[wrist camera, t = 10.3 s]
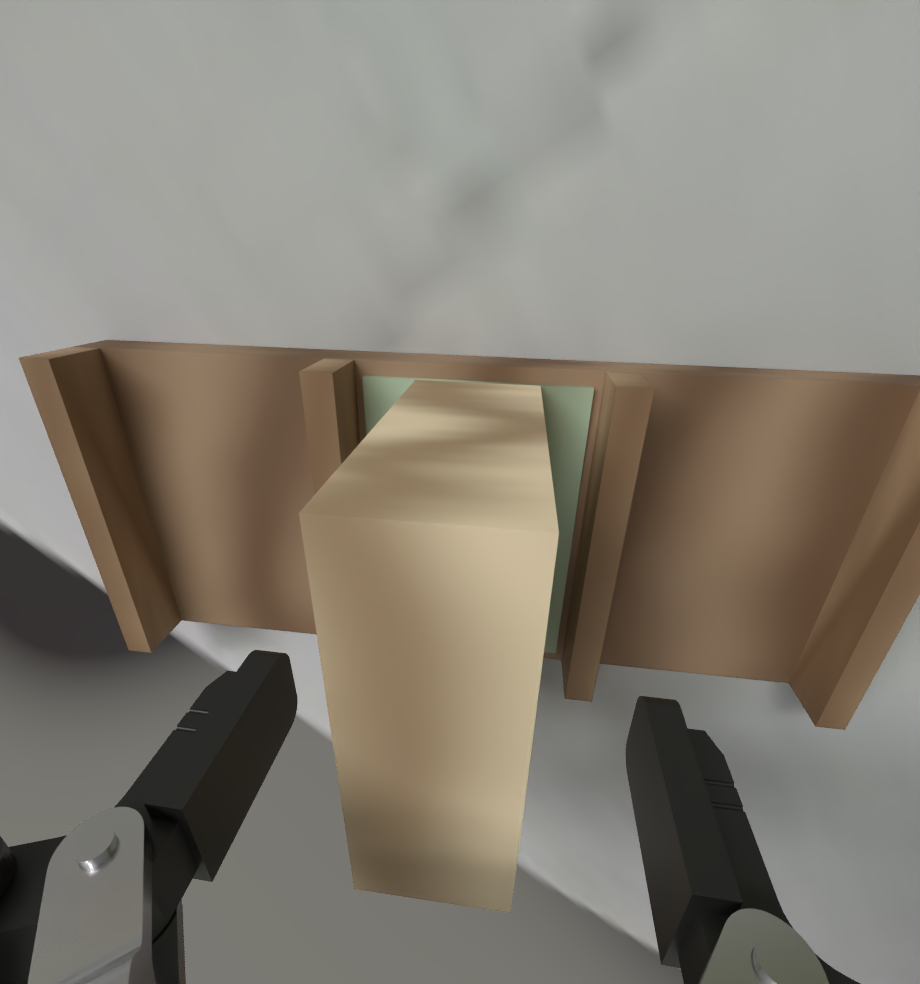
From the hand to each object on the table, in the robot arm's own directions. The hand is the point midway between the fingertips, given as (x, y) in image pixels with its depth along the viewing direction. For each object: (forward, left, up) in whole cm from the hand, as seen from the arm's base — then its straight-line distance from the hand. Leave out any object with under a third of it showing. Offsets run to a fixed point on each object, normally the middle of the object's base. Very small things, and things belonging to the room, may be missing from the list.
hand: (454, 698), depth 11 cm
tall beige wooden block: (0, 0, -8) cm, 8 cm away
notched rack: (0, 0, -9) cm, 9 cm away
